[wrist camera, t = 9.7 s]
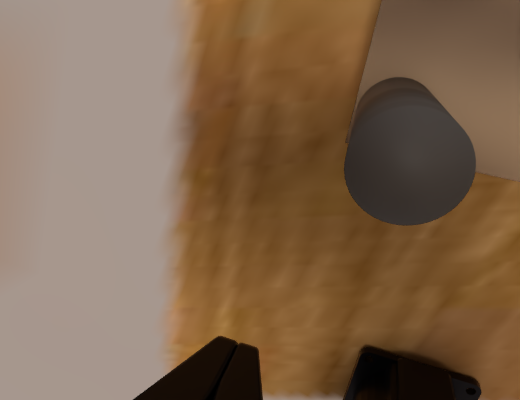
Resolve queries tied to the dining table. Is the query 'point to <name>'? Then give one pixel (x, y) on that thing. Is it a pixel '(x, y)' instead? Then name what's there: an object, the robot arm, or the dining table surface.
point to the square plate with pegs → (435, 107)
